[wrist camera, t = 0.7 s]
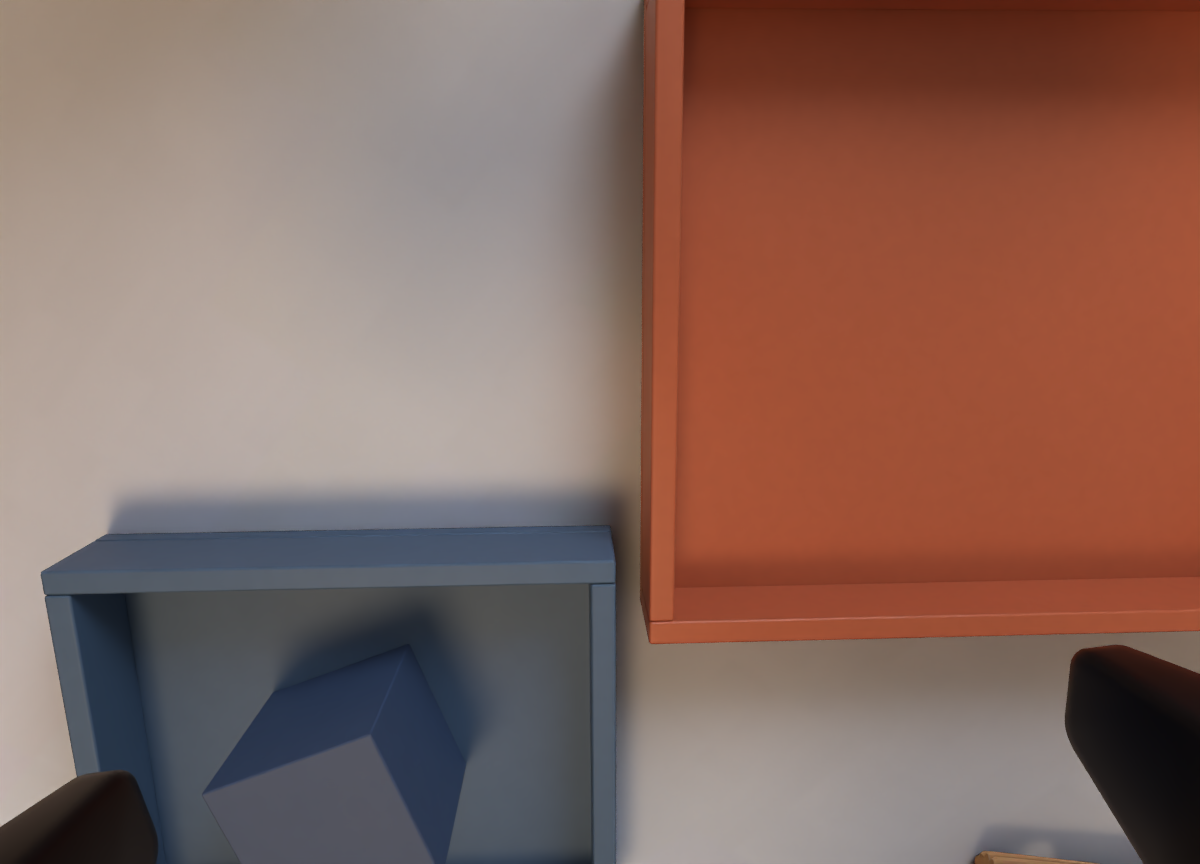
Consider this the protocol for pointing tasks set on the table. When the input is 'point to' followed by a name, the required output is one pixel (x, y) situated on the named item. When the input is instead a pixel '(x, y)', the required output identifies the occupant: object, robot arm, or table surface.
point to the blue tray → (340, 638)
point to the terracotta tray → (920, 319)
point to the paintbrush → (1019, 859)
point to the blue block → (343, 771)
